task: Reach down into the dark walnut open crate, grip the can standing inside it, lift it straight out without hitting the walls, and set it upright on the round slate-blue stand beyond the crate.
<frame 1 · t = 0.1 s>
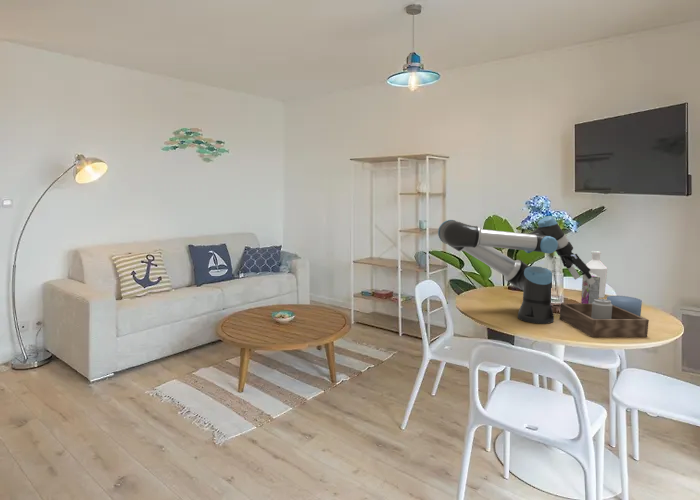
hand: (584, 280, 212), 15 cm above the table, tool tilted 35°, fingers open, 13 cm apart
bottle: (592, 295, 248), on the table
crate: (600, 327, 189), on the table
candy bar box: (589, 306, 225), on the table
stand: (622, 315, 207), on the table
can: (600, 327, 189), resting in crate
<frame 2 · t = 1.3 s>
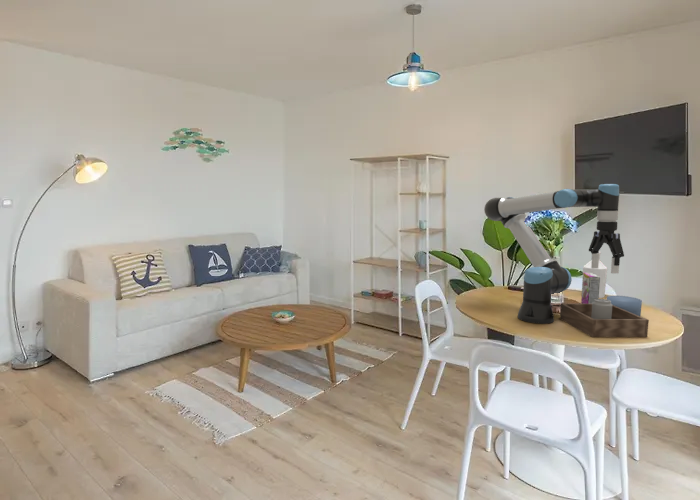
hand: (604, 270, 188), 24 cm above the table, tool pointing down, fingers open, 13 cm apart
nothing on the table moved.
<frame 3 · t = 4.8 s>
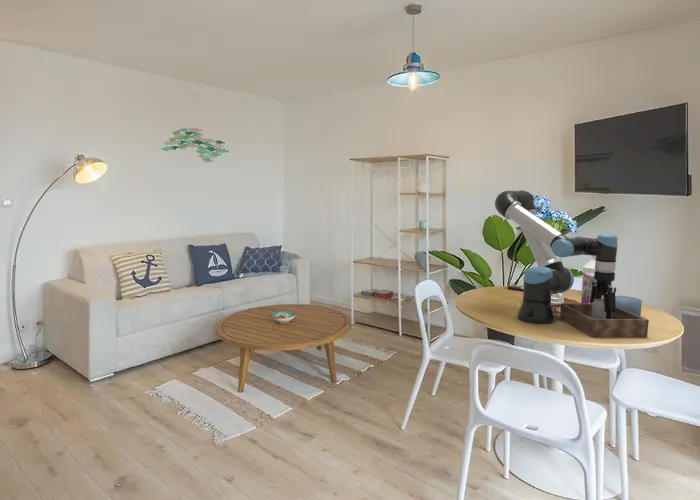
hand: (600, 323, 189), 2 cm above the table, tool pointing down, fingers closed on can, 7 cm apart
can: (600, 327, 189), resting in crate, touching gripper
everything else where it was.
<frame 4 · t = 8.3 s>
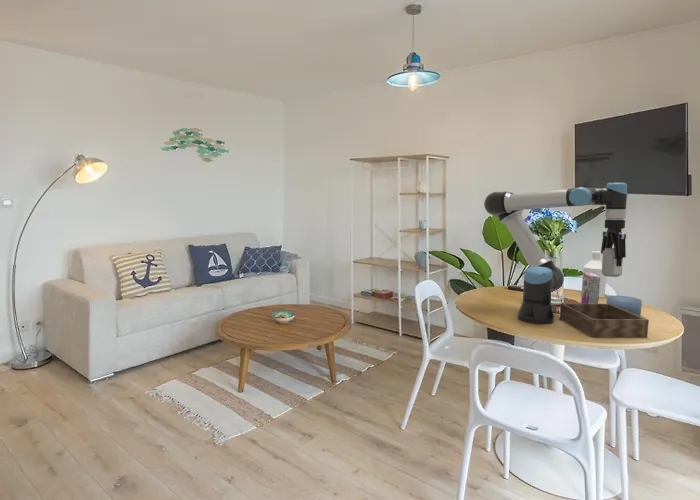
hand: (611, 271, 190), 23 cm above the table, tool pointing down, fingers closed on can, 7 cm apart
can: (611, 276, 190), point 22 cm above the table, touching gripper
everything else where it was.
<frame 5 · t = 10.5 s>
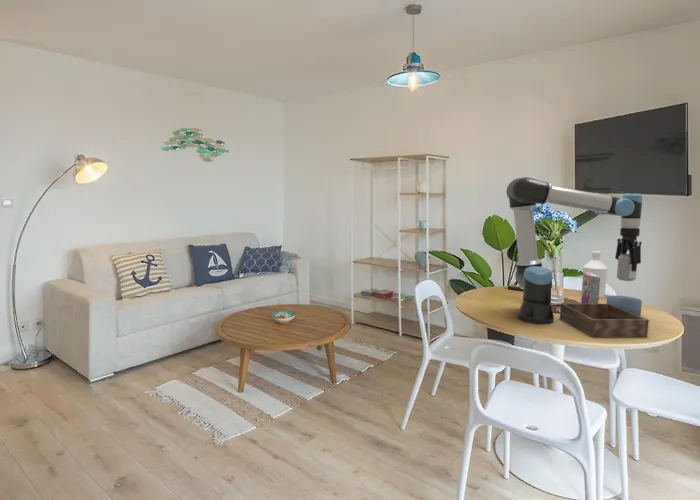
hand: (626, 276, 205), 19 cm above the table, tool pointing down, fingers closed on can, 7 cm apart
can: (625, 280, 205), point 17 cm above the table, touching gripper
everything else where it was.
when the fingers open (11 cm above the table, at t = 12.2 s): can drops 1 cm, resting on stand.
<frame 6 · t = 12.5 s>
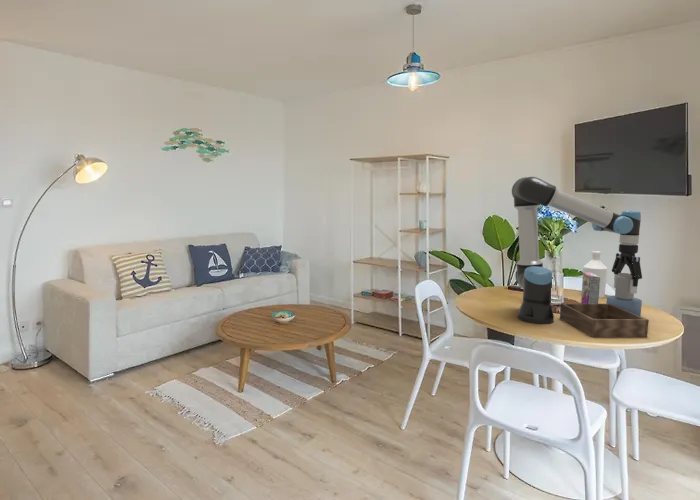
hand: (624, 290, 206), 12 cm above the table, tool pointing down, fingers open, 11 cm apart
can: (624, 299, 206), point 8 cm above the table, touching stand
everything else where it was.
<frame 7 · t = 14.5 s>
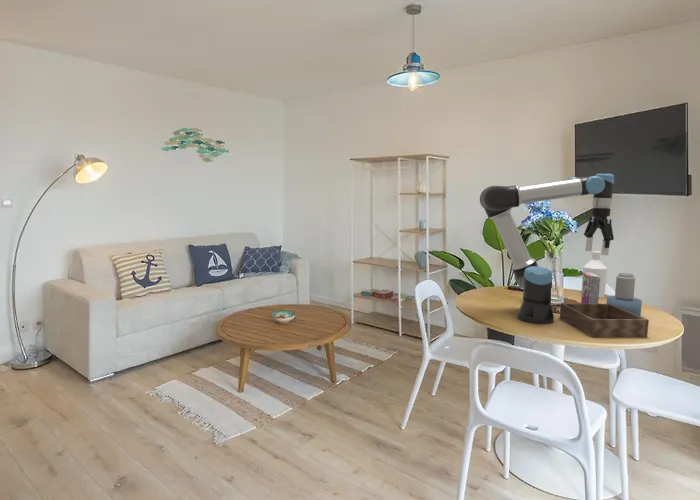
hand: (596, 253, 206), 29 cm above the table, tool pointing down, fingers open, 13 cm apart
nothing on the table moved.
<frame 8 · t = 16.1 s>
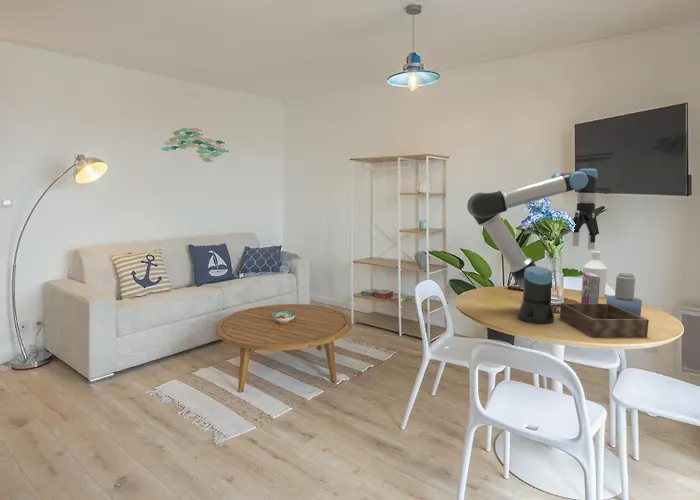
hand: (582, 247, 207), 32 cm above the table, tool pointing down, fingers open, 13 cm apart
nothing on the table moved.
at the end: can inside the target area on the stand (0.0 cm from its centre), point 7.8 cm above the stand's base; can tilted 0°; the gripper is holding nothing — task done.
